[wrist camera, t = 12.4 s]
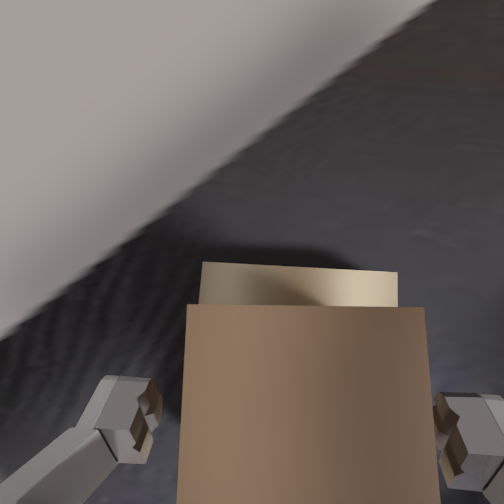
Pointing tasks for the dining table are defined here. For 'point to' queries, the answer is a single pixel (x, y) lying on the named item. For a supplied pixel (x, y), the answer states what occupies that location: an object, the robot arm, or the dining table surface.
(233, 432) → the walnut block
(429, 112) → the dining table surface
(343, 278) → the beech block
